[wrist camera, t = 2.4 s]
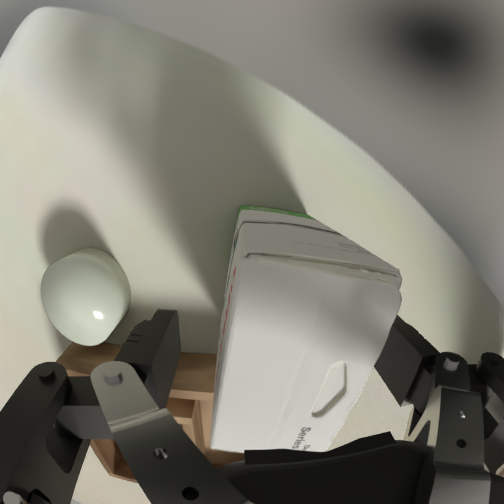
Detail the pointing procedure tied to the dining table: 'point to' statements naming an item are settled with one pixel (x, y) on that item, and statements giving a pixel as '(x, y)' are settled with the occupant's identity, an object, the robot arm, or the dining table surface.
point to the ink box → (296, 332)
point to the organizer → (179, 405)
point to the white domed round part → (86, 295)
